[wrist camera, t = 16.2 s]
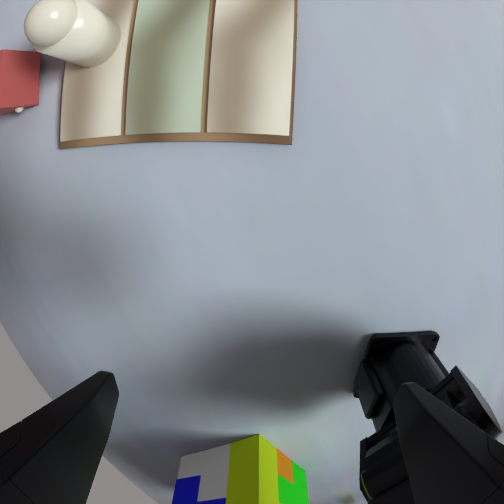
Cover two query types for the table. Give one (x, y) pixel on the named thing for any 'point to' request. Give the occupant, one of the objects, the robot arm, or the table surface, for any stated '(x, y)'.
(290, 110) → the board
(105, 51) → the pawn
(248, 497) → the puzzle toy
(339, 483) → the table surface
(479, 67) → the table surface
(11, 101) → the die
